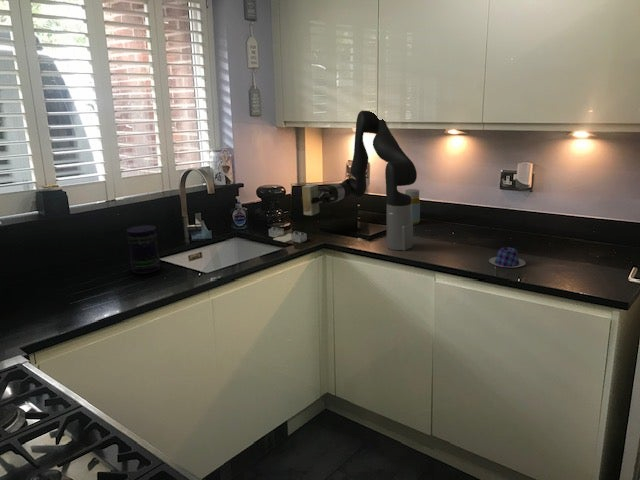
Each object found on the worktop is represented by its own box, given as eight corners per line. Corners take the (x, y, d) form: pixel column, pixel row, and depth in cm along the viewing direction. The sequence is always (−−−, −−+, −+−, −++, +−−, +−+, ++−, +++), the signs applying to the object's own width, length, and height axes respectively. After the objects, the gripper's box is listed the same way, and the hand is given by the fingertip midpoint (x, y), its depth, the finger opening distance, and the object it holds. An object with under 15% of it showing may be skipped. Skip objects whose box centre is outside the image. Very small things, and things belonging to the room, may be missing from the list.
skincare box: (311, 211, 234) (309, 183, 231) (319, 212, 232) (318, 184, 229) (303, 215, 229) (301, 186, 226) (311, 215, 227) (310, 186, 224)
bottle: (402, 224, 245) (403, 191, 240) (405, 221, 251) (405, 188, 247) (418, 225, 243) (419, 192, 238) (420, 221, 249) (421, 189, 245)
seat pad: (301, 236, 231) (301, 235, 230) (285, 242, 223) (285, 241, 223) (289, 234, 235) (289, 233, 235) (273, 239, 228) (273, 238, 227)
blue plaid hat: (532, 264, 188) (534, 250, 187) (509, 271, 182) (510, 256, 181) (504, 256, 198) (505, 242, 196) (481, 262, 192) (482, 248, 190)
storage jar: (126, 269, 196) (121, 229, 192) (152, 262, 203) (147, 223, 199) (140, 275, 189) (134, 233, 185) (165, 268, 196) (160, 228, 192)
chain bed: (306, 240, 225) (306, 232, 224) (300, 242, 222) (300, 234, 221) (275, 234, 236) (274, 225, 235) (268, 236, 233) (268, 227, 232)
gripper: (319, 183, 243) (293, 190, 230) (345, 186, 234) (319, 193, 221) (320, 200, 245) (294, 207, 232) (345, 203, 236) (320, 211, 223)
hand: (306, 200), depth 227 cm, fingers closed on skincare box, 5 cm apart
